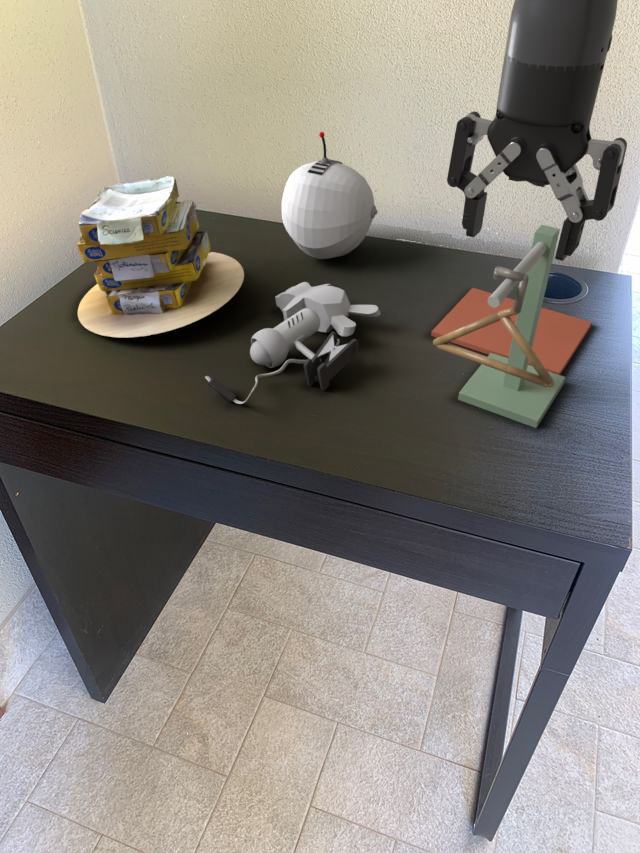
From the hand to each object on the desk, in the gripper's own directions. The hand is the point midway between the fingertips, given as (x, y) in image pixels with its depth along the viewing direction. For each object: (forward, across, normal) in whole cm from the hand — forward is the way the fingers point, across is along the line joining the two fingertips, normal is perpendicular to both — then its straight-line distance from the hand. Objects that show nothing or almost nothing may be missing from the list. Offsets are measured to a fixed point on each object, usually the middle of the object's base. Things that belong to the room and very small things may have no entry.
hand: (516, 245), depth 63 cm
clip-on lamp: (+24, -26, -3) cm, 36 cm away
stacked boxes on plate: (+24, -52, +3) cm, 57 cm away
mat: (+24, -5, +23) cm, 34 cm away
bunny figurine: (+24, -28, +11) cm, 39 cm away
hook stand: (+24, 0, +6) cm, 25 cm away
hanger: (+14, 0, 0) cm, 14 cm away
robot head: (+24, -39, +29) cm, 54 cm away
